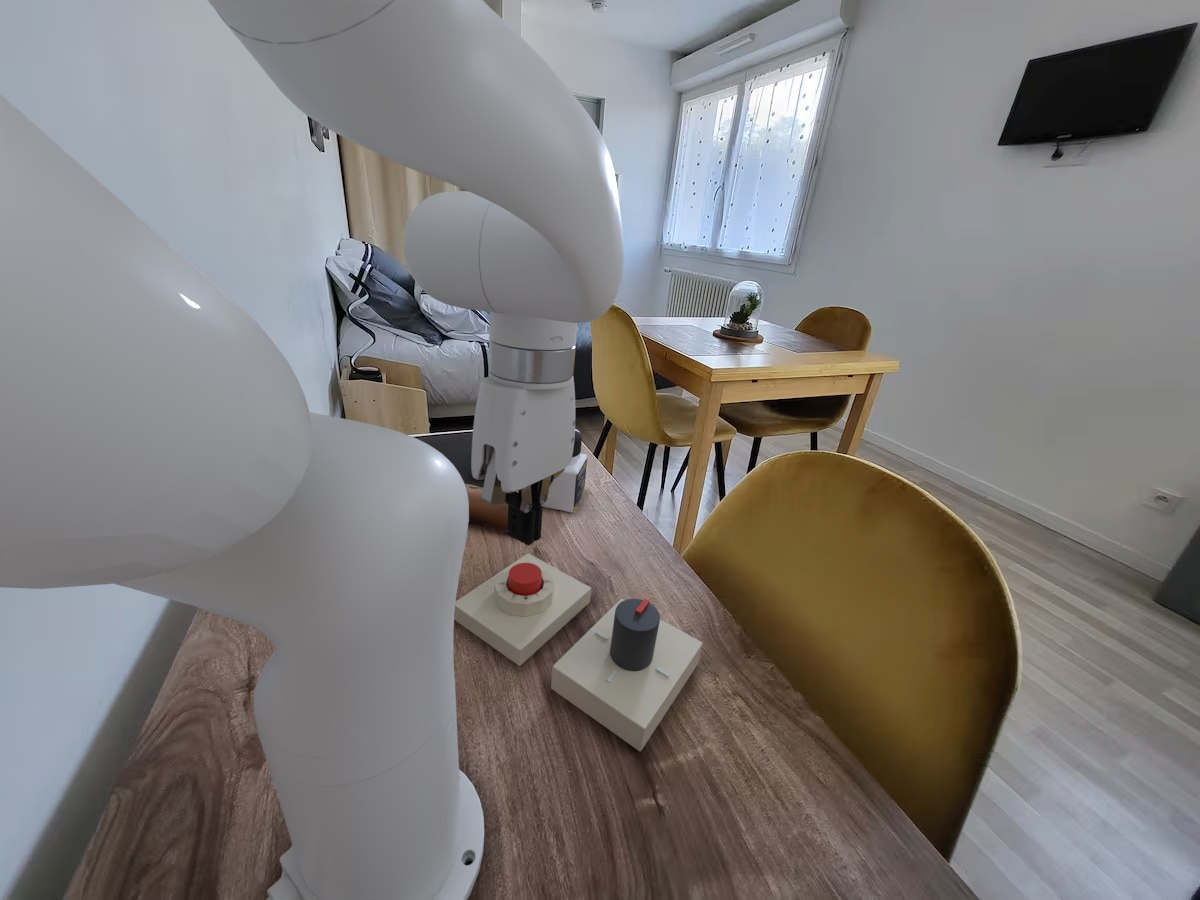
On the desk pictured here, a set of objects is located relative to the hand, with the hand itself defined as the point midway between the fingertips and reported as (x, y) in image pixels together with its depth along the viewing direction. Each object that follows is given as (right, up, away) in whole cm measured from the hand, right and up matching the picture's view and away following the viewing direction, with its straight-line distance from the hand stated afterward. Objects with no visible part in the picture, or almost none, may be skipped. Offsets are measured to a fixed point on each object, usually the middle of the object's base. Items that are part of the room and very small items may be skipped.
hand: (523, 537), depth 50 cm
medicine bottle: (+1, +1, +28) cm, 28 cm away
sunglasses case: (-12, 0, +23) cm, 26 cm away
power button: (0, -6, +4) cm, 7 cm away
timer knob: (+11, -11, -3) cm, 16 cm away
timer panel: (+11, -14, -2) cm, 17 cm away
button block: (-1, -9, +5) cm, 11 cm away
